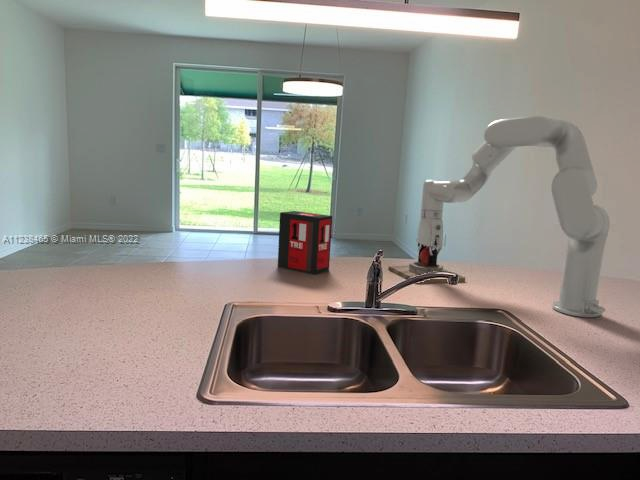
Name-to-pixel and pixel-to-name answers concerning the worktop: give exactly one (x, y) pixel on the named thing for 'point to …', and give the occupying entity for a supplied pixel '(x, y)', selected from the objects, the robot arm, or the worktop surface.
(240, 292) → the worktop surface
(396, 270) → the cradle
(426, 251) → the onion
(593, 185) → the robot arm
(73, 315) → the worktop surface
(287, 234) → the cleaning product box
